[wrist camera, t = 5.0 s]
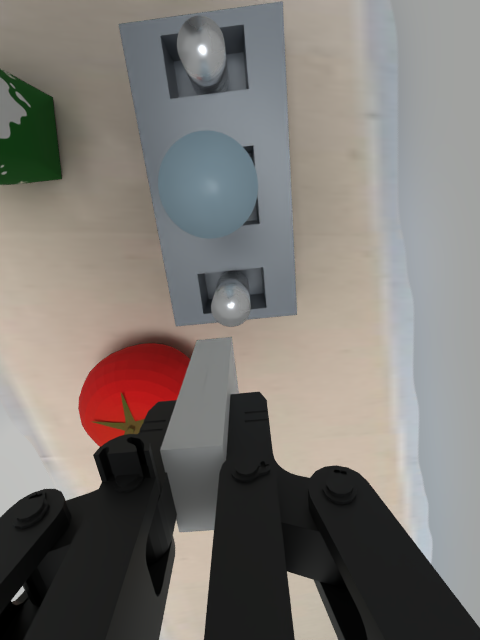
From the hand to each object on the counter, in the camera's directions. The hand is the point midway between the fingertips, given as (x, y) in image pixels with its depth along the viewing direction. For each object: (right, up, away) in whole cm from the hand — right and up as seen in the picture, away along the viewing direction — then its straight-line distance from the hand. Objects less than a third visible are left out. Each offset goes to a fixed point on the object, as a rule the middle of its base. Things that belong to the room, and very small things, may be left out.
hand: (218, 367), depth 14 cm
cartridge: (-1, +15, +18) cm, 24 cm away
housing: (-1, +15, +19) cm, 25 cm away
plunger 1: (-2, +23, +14) cm, 27 cm away
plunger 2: (0, +5, +19) cm, 19 cm away
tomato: (-9, -5, +27) cm, 30 cm away
